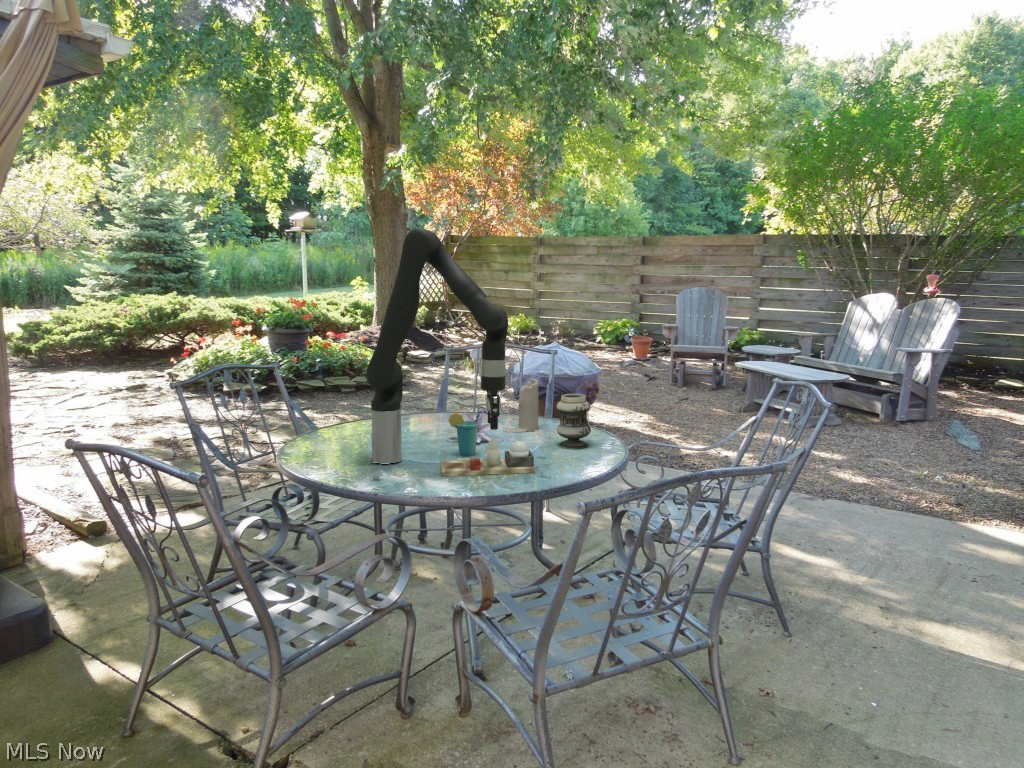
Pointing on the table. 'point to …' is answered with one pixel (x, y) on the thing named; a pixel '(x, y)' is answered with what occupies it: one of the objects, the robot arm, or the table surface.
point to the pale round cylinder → (519, 449)
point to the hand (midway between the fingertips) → (492, 426)
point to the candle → (528, 408)
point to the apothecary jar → (573, 420)
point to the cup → (466, 433)
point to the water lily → (482, 428)
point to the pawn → (493, 453)
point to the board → (488, 466)
